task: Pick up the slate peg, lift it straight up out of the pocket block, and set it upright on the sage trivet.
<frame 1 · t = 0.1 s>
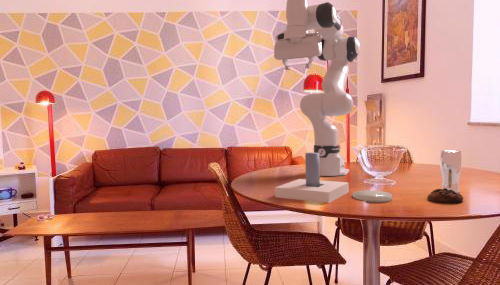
hand: (297, 69, 166), 48 cm above the table, tool pointing down, fingers open, 8 cm apart
white tall piece: (450, 192, 149), on the table
pocket block: (312, 195, 147), on the table
sage trivet: (372, 198, 140), on the table
bread roll: (444, 201, 135), on the table
slate peg: (312, 194, 147), resting on pocket block
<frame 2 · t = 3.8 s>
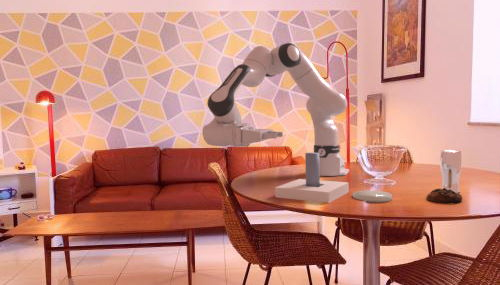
hand: (279, 135, 149), 22 cm above the table, tool horizontal, fingers open, 8 cm apart
nothing on the table moved.
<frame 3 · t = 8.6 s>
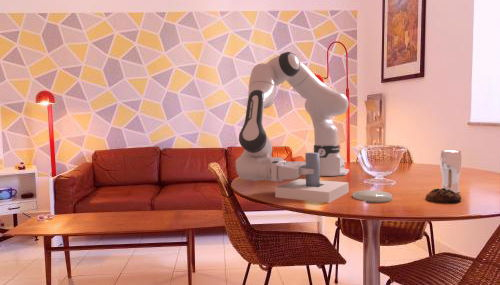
hand: (315, 169, 146), 10 cm above the table, tool horizontal, fingers closed on slate peg, 5 cm apart
slate peg: (312, 194, 147), point 1 cm above the table, touching gripper, pocket block
everything else where it was.
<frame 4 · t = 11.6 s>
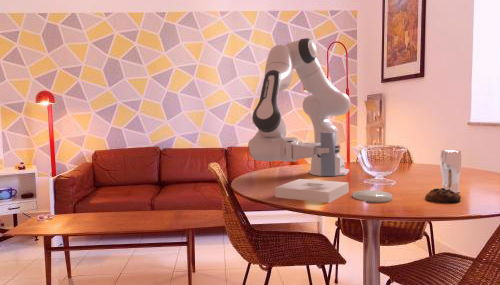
hand: (330, 149, 142), 17 cm above the table, tool horizontal, fingers closed on slate peg, 5 cm apart
slate peg: (328, 174, 143), point 8 cm above the table, touching gripper
everything else where it was.
when the fingers open (12 cm above the table, at t = 14.9 s): slate peg drops 1 cm, resting on sage trivet.
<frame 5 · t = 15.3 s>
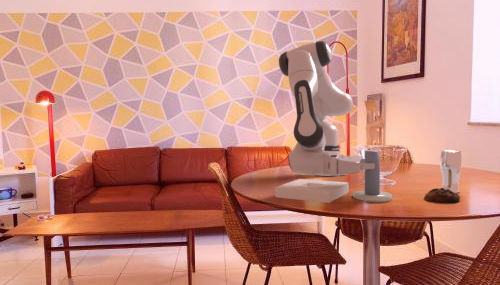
hand: (374, 164, 139), 12 cm above the table, tool horizontal, fingers open, 8 cm apart
slate peg: (372, 194, 140), point 2 cm above the table, touching sage trivet
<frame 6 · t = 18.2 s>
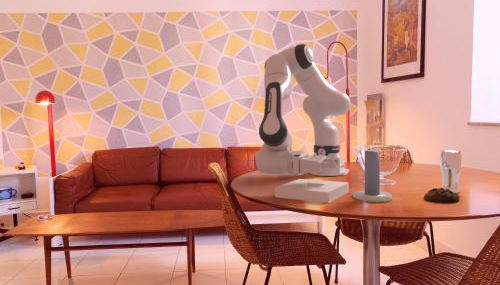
hand: (337, 163, 143), 12 cm above the table, tool horizontal, fingers open, 8 cm apart
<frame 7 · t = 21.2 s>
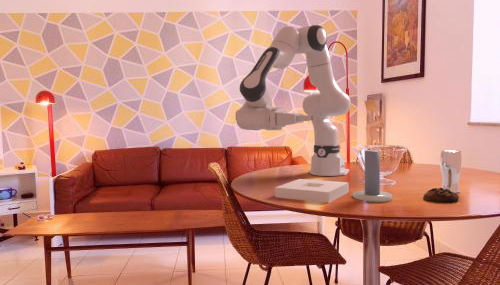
hand: (312, 118, 152), 28 cm above the table, tool horizontal, fingers open, 8 cm apart
at the end: slate peg 0.0 cm off-centre on the sage trivet, point 1.5 cm above the sage trivet's base; slate peg tilted 0°; the gripper is holding nothing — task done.
